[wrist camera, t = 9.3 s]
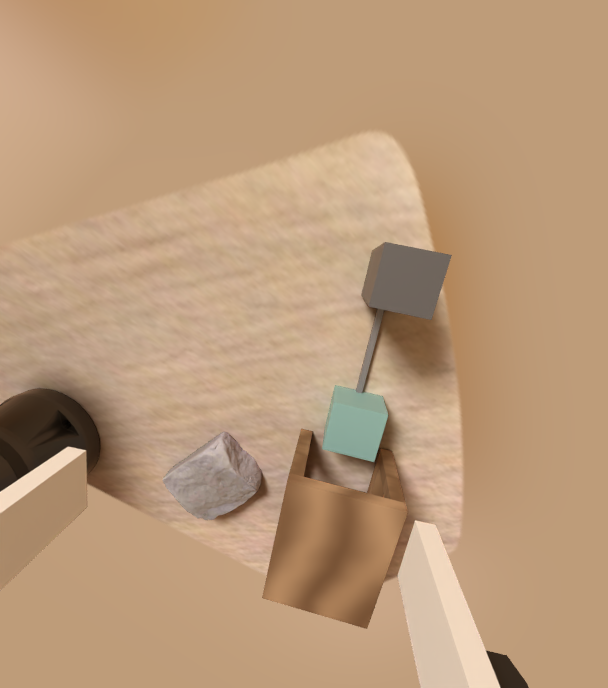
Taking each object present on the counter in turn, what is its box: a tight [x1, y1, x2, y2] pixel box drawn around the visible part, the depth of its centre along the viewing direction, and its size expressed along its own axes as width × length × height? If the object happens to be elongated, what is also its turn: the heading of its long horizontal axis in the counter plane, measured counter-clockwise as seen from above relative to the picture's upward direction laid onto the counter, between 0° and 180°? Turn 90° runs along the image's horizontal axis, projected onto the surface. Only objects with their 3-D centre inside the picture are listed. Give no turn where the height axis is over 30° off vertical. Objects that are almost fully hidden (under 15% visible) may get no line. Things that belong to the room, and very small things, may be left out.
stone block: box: [163, 432, 262, 520], centre depth 42 cm, size 12×5×10 cm
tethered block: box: [322, 242, 451, 462], centre depth 31 cm, size 6×22×11 cm, turn 168°
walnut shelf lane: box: [262, 429, 408, 628], centre depth 37 cm, size 12×16×10 cm
